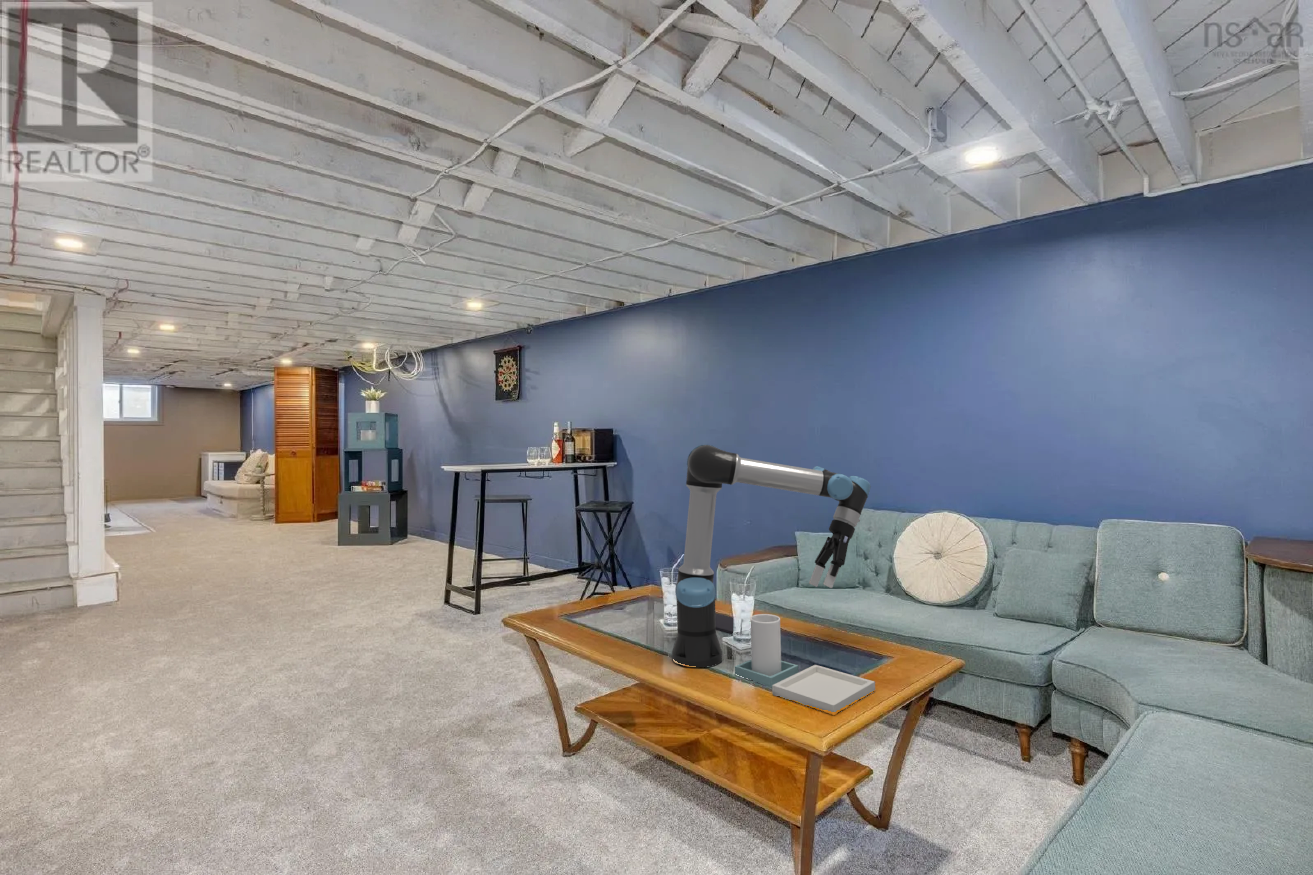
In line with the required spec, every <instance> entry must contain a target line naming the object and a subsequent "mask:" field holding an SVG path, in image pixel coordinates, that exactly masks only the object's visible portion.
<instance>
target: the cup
mask: <svg viewBox="0 0 1313 875" xmlns="http://www.w3.org/2000/svg"><path fill="white" fill-rule="evenodd" d="M750 622H751V628H750V650H751V651H750V653H751V655H750V657H751V658H750V660H751V661H752V671H755V672H758V673H761V674H764V675H767V676H773V675H775V674H777V673H779V672H781V671H782V670H781V661H782V645H781V644H782V643H781V642H782V640H781V639H782V638H781V636H782V635H781V618H780V616H778V615H776V614H771V613H770V614H769V613H759V614H754V615H751V616H750Z"/></svg>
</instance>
